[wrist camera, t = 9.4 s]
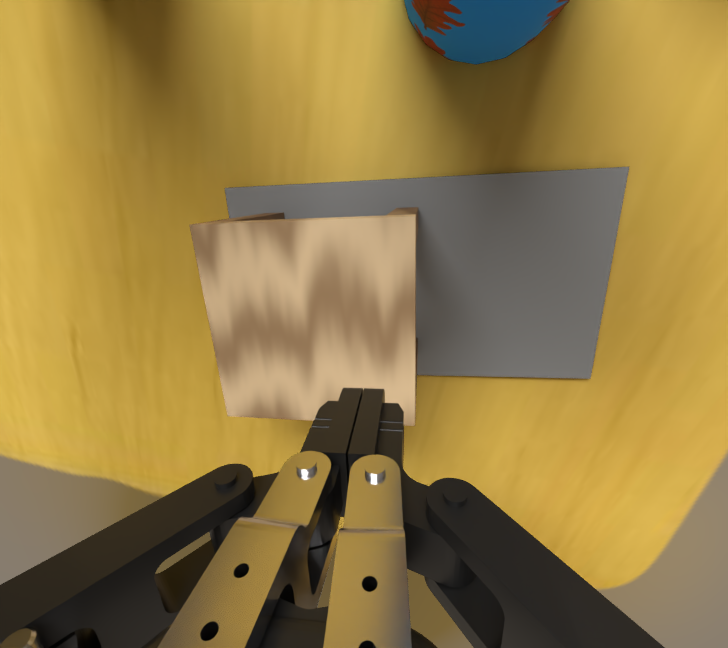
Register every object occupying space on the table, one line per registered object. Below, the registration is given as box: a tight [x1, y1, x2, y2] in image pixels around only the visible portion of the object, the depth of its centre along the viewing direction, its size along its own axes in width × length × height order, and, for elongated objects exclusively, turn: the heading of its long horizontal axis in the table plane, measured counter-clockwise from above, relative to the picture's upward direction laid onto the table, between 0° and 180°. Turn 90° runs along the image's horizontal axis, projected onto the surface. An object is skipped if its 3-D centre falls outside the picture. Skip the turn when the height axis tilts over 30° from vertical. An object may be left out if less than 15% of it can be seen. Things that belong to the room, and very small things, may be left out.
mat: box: [225, 167, 629, 379], centre depth 30 cm, size 16×29×1 cm, turn 93°
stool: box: [190, 207, 418, 426], centre depth 25 cm, size 12×10×12 cm
